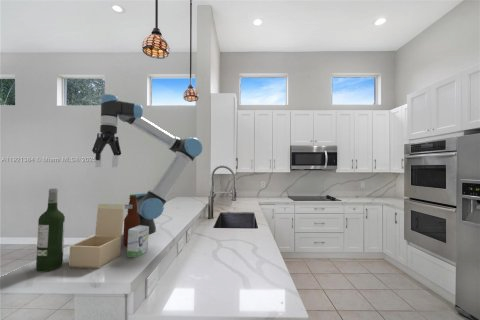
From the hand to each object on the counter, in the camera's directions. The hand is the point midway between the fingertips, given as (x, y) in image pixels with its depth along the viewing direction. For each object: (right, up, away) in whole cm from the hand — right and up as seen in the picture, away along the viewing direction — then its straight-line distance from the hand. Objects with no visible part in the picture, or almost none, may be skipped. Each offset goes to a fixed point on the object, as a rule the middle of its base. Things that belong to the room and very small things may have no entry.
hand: (107, 167), depth 118 cm
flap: (+9, -23, -14) cm, 28 cm away
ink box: (+22, -39, -14) cm, 46 cm away
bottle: (+13, -39, -2) cm, 41 cm away
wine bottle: (-5, -38, -29) cm, 48 cm away
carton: (+8, -38, -22) cm, 45 cm away
